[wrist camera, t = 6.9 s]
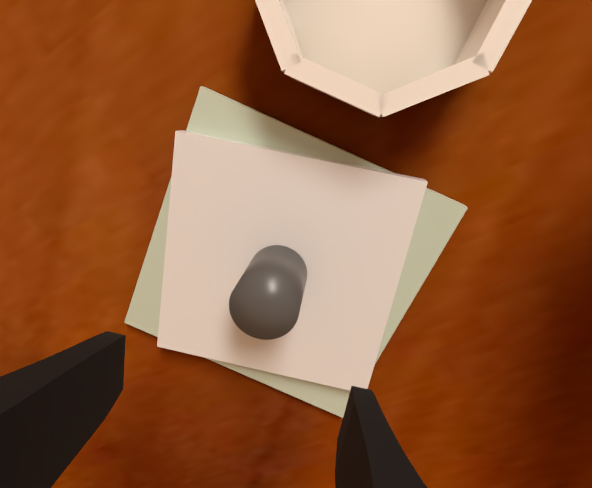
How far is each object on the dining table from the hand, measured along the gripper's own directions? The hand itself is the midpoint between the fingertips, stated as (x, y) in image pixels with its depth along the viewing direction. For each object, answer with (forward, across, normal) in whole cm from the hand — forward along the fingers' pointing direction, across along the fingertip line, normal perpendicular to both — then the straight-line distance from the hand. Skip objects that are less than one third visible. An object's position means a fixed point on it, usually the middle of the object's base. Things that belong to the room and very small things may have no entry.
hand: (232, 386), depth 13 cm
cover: (+10, 0, 0) cm, 10 cm away
